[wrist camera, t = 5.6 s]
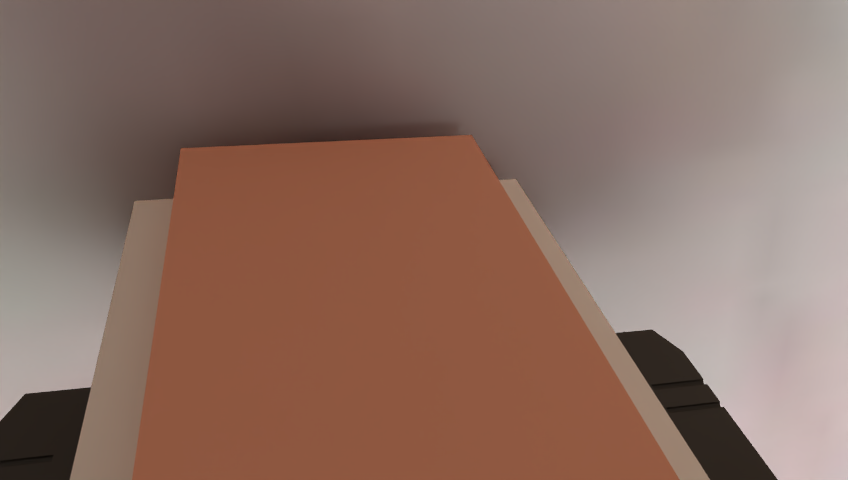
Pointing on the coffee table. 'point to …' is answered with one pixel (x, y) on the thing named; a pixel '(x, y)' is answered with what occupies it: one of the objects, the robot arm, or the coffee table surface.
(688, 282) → the coffee table surface
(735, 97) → the coffee table surface
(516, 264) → the orange-headed mallet
